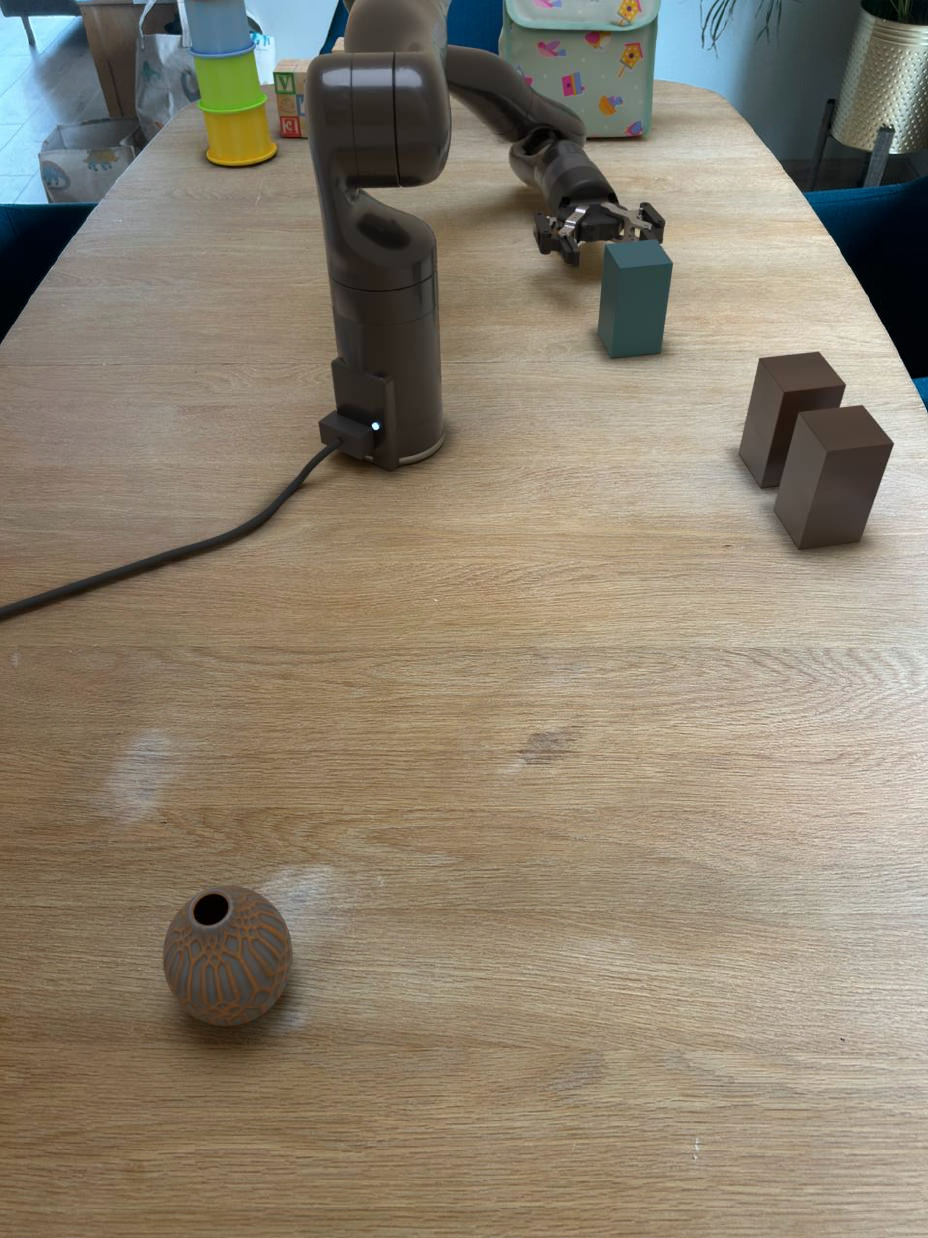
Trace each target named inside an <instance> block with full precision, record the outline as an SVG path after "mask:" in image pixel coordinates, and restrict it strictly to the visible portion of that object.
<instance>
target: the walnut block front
mask: <svg viewBox="0 0 928 1238" xmlns="http://www.w3.org/2000/svg"><path fill="white" fill-rule="evenodd" d="M894 446H895V442H894V441H893V440H892V438H890V436H889V434H887V432H885V430H884V429H883V428H882V427H881V425H880V424H879V423H878V421H876V419H875V418H874V417H873V416H872V414H871V413H870V412H869V411H868V409H867V408H866V407H865V406H864V405H863V404H858V405H847V406H840V407H839V408H831V409H822V410H813V411H804V412H799V413H798V417H797V421H796V425H795V429H794V433H793V436H792V440H791V444H790V448H789V452H788V456H787V459H786V463H785V467H784V471H783V475H782V479H781V482H780V486H778V491H777V493H776V499H775V502H774V506H773V510H774V512H775V513H776V516H777V517H778V519H779V520H780V522H781V523H782V525H783V526H784V529H785V530H786V532H787V533H788V535H789V536H790V538H791V539H792V541H793V543H794V544H795V546H796V548H797V549H798V550H805V549H806V550H807V549H814V548H820V547H827V546H836V545H843V544H850V543H851V544H852V543H858V542H861V540H862V538H863V536H864V535H863V534H864V531H865V529H866V526H867V523H868V520H869V518H870V514H871V511H872V509H873V507H874V506H873V505H874V502H875V500H876V498H877V494H878V492H879V489H880V486H881V484H882V483H881V482H882V481H883V477H884V475H885V471H886V468H887V465H888V463H889V461H890V457H891V455H892V453H893V449H894Z"/></svg>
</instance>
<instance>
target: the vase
mask: <svg viewBox="0 0 928 1238" xmlns="http://www.w3.org/2000/svg"><path fill="white" fill-rule="evenodd" d="M162 948H163V949H162V968H163V973H164V978H165V980H166V983H167V985H168V988H169V990H170V992H171V994H172V995H173V997H174V999H175V1000H176V1001H177V1003H178V1005H180V1006H181V1008H182V1009H183V1010H184V1011H186V1013H188V1014H189V1015H191V1016H192V1017H194V1018H196V1019H197V1020H199V1021H201V1022H203V1023H207V1024H210V1025H214V1026H219V1027H231V1026H232V1027H233V1026H239V1025H243V1024H246V1023H249V1022H252V1021H254V1020H256V1019H257V1018H259V1017H262V1015H264V1014H265V1013H267V1011H269V1010H270V1009H271V1008H272V1007H273V1006H274V1005H275V1004H276V1003H277V1001H278V1000H279V999H280V997H281V996H282V994H283V992H284V991H285V989H286V986H287V984H288V981H289V979H290V976H291V972H292V966H293V959H294V958H293V956H294V954H293V943H292V938H291V933H290V930H289V928H288V925H287V922H286V920H285V919H284V917H283V915H282V914H281V912H280V911H279V909H278V908H277V907H276V906H275V905H274V904H273V903H272V902H271V901H270V900H268V899H267V898H266V897H264V896H263V895H262V894H260V893H258V892H256V890H252V889H249V888H247V887H242V886H239V885H238V886H237V885H222V886H217V887H212V888H211V887H210V888H207V889H204V890H202V891H200V892H199V893H197V894H196V895H195V896H193V897H192V898H190V899H188V900H187V902H186V903H184V904H183V905H182V907H181V908H180V909H179V910H178V911H177V912H176V914H175V915H174V916H173V919H172V920H171V922H170V924H169V926H168V928H167V931H166V934H165V938H164V942H163V947H162Z"/></svg>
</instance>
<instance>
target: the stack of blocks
mask: <svg viewBox="0 0 928 1238" xmlns="http://www.w3.org/2000/svg"><path fill="white" fill-rule="evenodd" d="M331 53H344V37H343V36H339V37H338V38H337V39H336V41H335V43H334V46H333V47H332V49H331ZM313 59H314V58H281V59H280V60H279V62H278V63H277V65H276V66H275V68H274V69H273V70H272V80H273V84H274V85H273V86H274V93H275V95H276V105H277V113H278V114H277V115H278V118H279V119H278V120H279V128H280V135H281V137H286V138H287V137H289V138H308V134H307V127H306V121H305V108H304V83H305V77H306V72H307V69H308V67H309V65H310V63H311V61H312V60H313Z"/></svg>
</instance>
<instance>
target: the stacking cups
mask: <svg viewBox="0 0 928 1238" xmlns="http://www.w3.org/2000/svg"><path fill="white" fill-rule="evenodd" d="M183 3H184V10H185V15H186V20H187V26H188V30H189V36H190V41H191V42H190V43H191V46H190V47H189V48H188V52H189V55H190V56H192V57H193V62H194V68H195V73H196V79H197V83H198V89H199V93H200V94H199V95H200V99H199V100H198V102H197V107H198V109H199V110H200V111H201V112H202V113H203V118H204V123H205V129H206V135H207V140H208V144H209V148H208V150H207V151H206V158H207V159H208V161H210V162H211V163H213V164H216V165H221V166H231V167H235V166H236V167H238V166H239V167H240V166H248V165H254V164H257V163H261V162H264V161H267V160H268V159H271V158H272V157H273V156H274V155H276V153H277V151H278V146H277V145H276V143H275V142H274V141H272V139H271V135H270V133H271V132H270V128H269V122H268V116H267V111H266V103H267V102H268V96H267V94H266V93H264V92H262V87H261V83H260V78H259V73H258V67H257V61H256V55H255V49H256V47H257V44H256V42H255V41H254V40H253V39H252V38H251V37H252V36H251V31H250V26H249V25H250V24H249V20H248V15H247V9H246V3H245V0H183Z"/></svg>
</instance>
